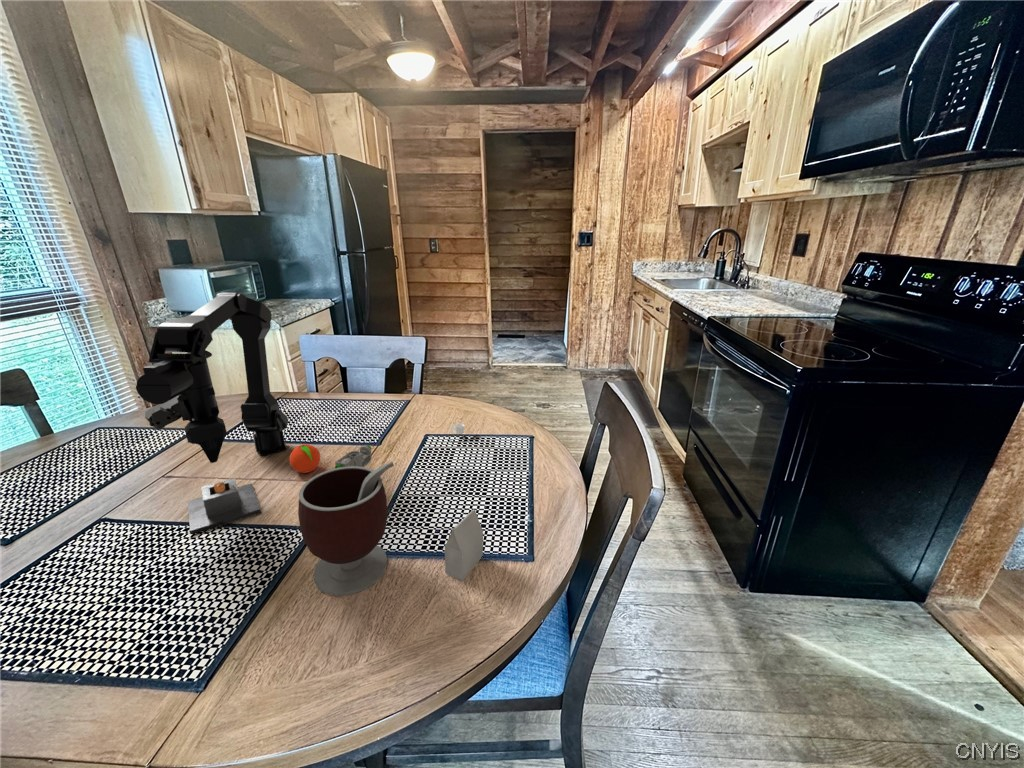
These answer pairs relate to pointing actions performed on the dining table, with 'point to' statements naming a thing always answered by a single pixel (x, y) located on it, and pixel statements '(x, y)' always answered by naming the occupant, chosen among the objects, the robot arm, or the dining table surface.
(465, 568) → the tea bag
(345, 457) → the grey lumpy piece
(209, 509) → the grey hollow block
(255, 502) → the grey socket block
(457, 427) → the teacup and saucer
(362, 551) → the mate gourd
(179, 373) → the robot arm
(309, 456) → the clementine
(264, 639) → the dining table surface
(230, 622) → the dining table surface
